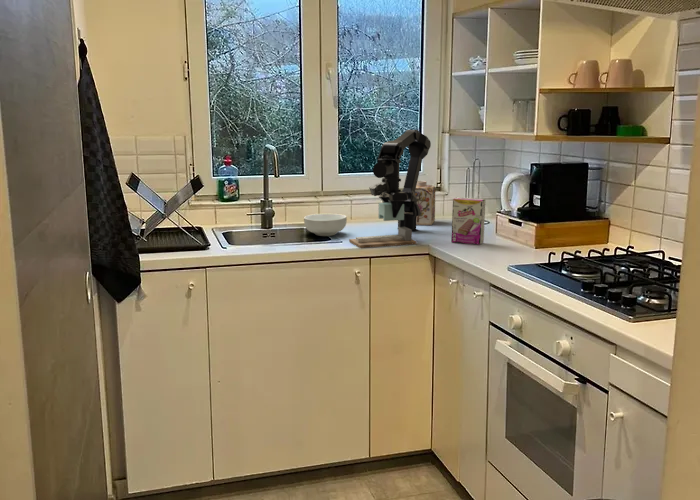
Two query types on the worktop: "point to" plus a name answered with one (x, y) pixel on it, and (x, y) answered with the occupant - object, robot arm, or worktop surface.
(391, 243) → the mounting board
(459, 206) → the candy bar box
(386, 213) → the block
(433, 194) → the decorative jar
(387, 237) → the metal rail
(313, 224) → the cereal bowl
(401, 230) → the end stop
